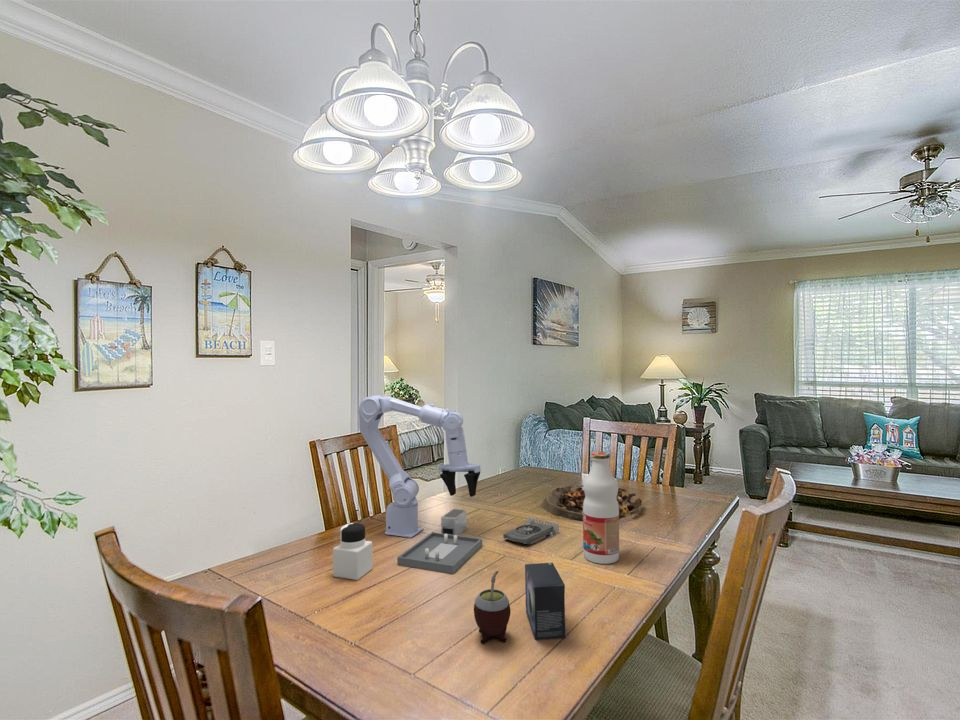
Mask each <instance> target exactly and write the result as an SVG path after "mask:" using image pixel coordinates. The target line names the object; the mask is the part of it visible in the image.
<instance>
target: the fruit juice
mask: <svg viewBox="0 0 960 720" xmlns="http://www.w3.org/2000/svg"><path fill="white" fill-rule="evenodd" d="M610 457H611V456H610V453H609V452H608V451H593V452H592V451H591V453H590V460H591V467H590V471H589V473H588V474H587V476H586V477H585V478H584V480H583V484H582V486H583V488H582V490H584V493H585V499H584V502H583V520H582V534H583V536H582V537H583V538H582V539H583V541H582V542H583V543H582V546H583V547H582V548H583V549H582V550H583V551H582V552H583V557H584V558H585V559H586V560H587V561H589V562H592V563H595V564H601V565H610V564H614V563H616V562H618V561H619V558H620V519H619V505H618V501H617V498H616V497H617V494H618V488H619V483H618V481H617V479H616V478H615V477H614V476H613V474H612V471H611V468H610V463H609V462H610V459H611V458H610Z"/></svg>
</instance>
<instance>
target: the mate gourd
mask: <svg viewBox="0 0 960 720" xmlns="http://www.w3.org/2000/svg"><path fill="white" fill-rule="evenodd" d="M498 574H499V570H497V571H495V572H494V573H493V575H492V576H491V580H490V583H491V586H490V589H485V590H482V591H480V592H479V593H478V595H477V597H476V598H475V600H474V604H473V615H474V621H475V623H476V626H477V627H478V632H479V633H480V634H481V640H480V644H482V645H485V644H487V643H488V642H489V641H491V640H492V639H494V640H496V641H498V642H500V643H503V644H505V643H506V642H507V638H505V636H506V633H507V630H508V629H507V628H508V624H509V621H510V617H511V606H510V600H509V598H508V596H507V595H506V593H505V592H504V591H501V590H499V589H495V583H496V577H497V575H498Z"/></svg>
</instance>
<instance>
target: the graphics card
mask: <svg viewBox="0 0 960 720" xmlns="http://www.w3.org/2000/svg"><path fill="white" fill-rule="evenodd" d="M525 521H527V522H526V523H524V524H522V525H519V526H517V527H515V528H512V529H511V530H508V531H506V532H504V533H502V534H503V535H502V536H503V539H507V540H509V541H512V542H517V543H522V545H523V544H526V545H532V544H535V543H536V542H538V541H540V540H543V539H545V540H546V539H547V540H548V539H551V538H553V537H555V536H557V535H558V534H559V533H560V532H559V531H560V528H559V522H557V523H556V522H554V521H549V520H546V519H545V520H544V519H541V518H540V519H539V518H535V517H532V516H527V517H525ZM557 533H558V534H557Z"/></svg>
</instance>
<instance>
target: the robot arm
mask: <svg viewBox="0 0 960 720" xmlns="http://www.w3.org/2000/svg"><path fill="white" fill-rule="evenodd" d="M393 411H394V412H398V413H401V414H406V415H410V416H413V417H417V418H419V421H420V422H421V423H422V424H423V423H424V424H427V425H429V426H433V427H437V428H440V429H441V428H443V430H444V432H445V442H446V449H447V457H448V463H447V464H440V465H439V466H438V471H439V473H440V474H439V477H440V478H441V480H442V481H443V482H444V484H445V486H446V488H447V491H448V493H449V496H455V495H456V494H457V489H456V472H457V473H464V475H463V477H464V478H465V481H466V483H467V489H468V494H469V497H471V498H472V497H474V496H476V495H477V485H478V481H479V478H480V475H481V471H482V470H481V465H480V464H473V463H469V462H468V454H467V447H466V439H465V433H464V428H463V424H464V417H463V416H462V414H461V413H459V412H458V411H456V410H451V411H450V408H445V409H444V408H440V407H437V406H435V403H434V404H433V403H430V404H425V405H423V406H420V405H416V404H413V403H410V402H407V401H405V400H402V399H398V398H396V397H393V396H388V395H382V394H374V395H371V396H366V397H364V398H363V399H362V400H361V401H360V403H359V406H358V407H357V413H358V421H359V422H358V424H359V426H358V427H359V432H360V434H361V435H362V437H363V439H364V440H365V443H366V445H368V447H369V449H370V451H371V452H372V455H374V458H375V459H376V460H377V462H378V464H379V465H380V467H381V469H382V471H383V472H384V474H385V476H386V477H387V479H388V486H389V489H390V491H391V494H392V501H393V502H390V503H388V505H387V506H386V511H385V532H384V535H388V536H395V537H396V536H397V537H404V538H409V539H410V538H413V537H414V536H416V535H418V534H419V533H421V532H422V531H423V530H424V527H419V506H418V505H419V504H418V503H419V501H418V498H417V497H416V496H418V494H419V490H420V489H419V484H418V482H417V481H416V480H415V479H413V478H412V477H411V476H410V474H409V473H407V472H406V471H405V470H404V469H403V467H402V465H401V464H400V463H399V460H398V458H397V457H396V455H395V454H394V452H393V451H392V449H391V447H390V445H389V444H388V442H387V440H386V439H385V437H384V436H383V434H382V432H381V430H380V429H379V424H380V421H381V418H382V416H383V415H384V414H385V413H389V412H393Z"/></svg>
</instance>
